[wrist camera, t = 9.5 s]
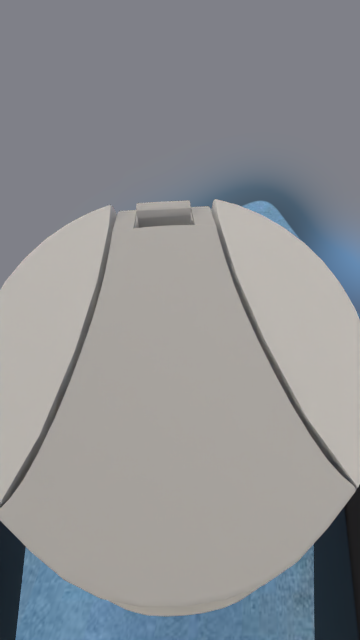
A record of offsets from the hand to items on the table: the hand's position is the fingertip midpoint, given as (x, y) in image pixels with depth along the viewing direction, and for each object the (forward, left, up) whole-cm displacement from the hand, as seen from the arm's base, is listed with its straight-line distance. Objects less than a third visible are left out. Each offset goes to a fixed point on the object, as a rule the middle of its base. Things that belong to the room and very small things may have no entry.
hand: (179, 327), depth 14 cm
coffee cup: (+1, -3, -6) cm, 7 cm away
